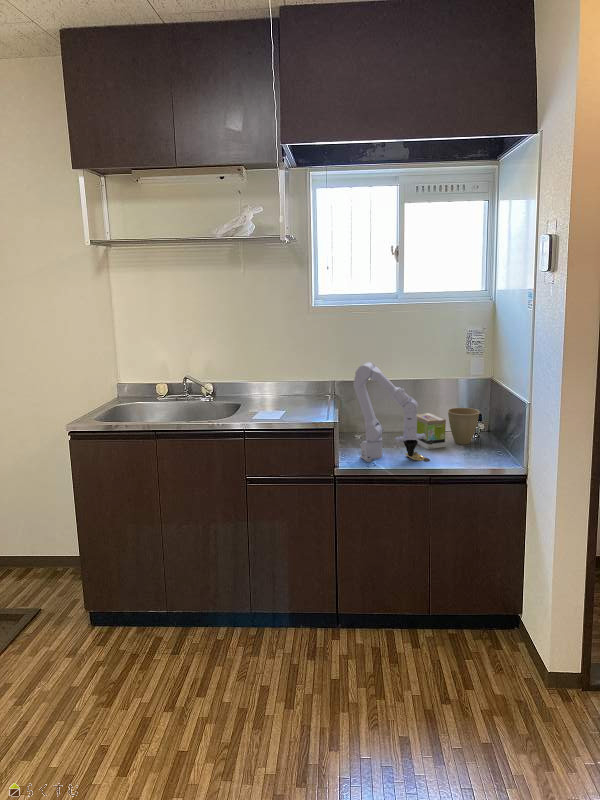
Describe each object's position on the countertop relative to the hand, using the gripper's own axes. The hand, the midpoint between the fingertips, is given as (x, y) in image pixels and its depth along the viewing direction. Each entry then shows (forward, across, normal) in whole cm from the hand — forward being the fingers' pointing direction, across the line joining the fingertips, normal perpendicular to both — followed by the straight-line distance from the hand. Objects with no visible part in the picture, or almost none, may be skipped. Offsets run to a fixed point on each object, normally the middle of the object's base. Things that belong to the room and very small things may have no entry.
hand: (410, 455), depth 272 cm
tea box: (+3, +19, +16) cm, 26 cm away
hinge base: (+3, +9, 0) cm, 9 cm away
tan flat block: (+2, +3, 0) cm, 3 cm away
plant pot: (+3, +37, +14) cm, 40 cm away
